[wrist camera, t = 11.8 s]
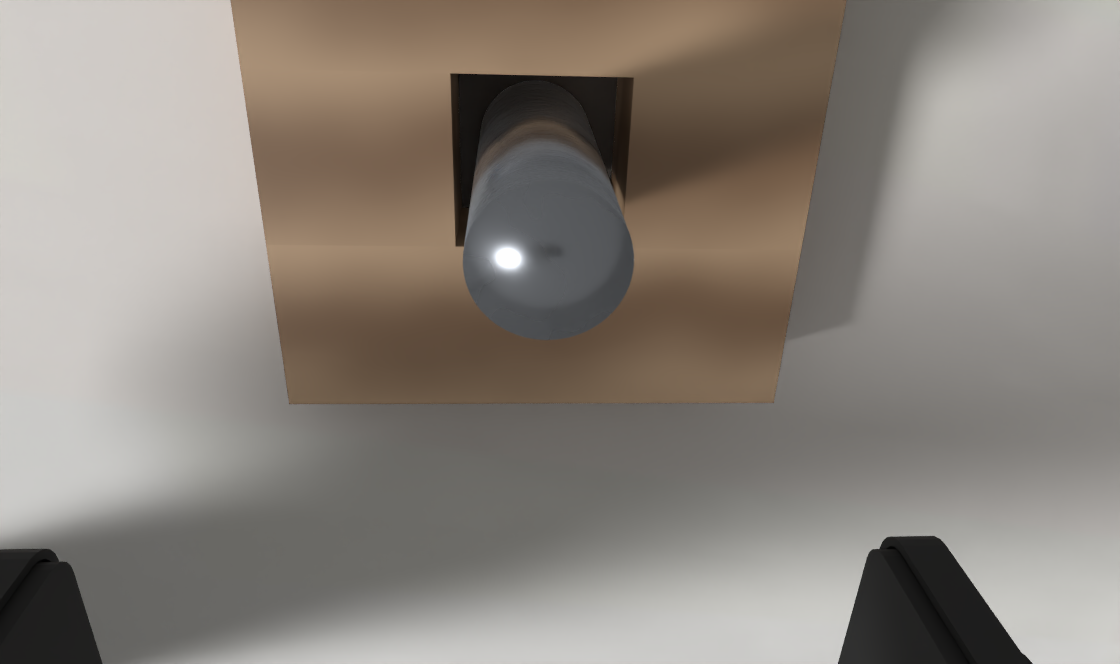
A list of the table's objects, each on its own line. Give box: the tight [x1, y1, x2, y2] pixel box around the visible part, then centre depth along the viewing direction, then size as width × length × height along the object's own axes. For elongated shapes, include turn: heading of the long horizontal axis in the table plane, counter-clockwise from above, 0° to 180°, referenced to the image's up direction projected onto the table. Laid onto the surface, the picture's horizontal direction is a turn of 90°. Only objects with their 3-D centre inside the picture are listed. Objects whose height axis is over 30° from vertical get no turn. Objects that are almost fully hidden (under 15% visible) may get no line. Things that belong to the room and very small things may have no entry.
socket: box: [231, 0, 846, 404], centre depth 28 cm, size 18×18×4 cm
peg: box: [463, 80, 634, 340], centre depth 24 cm, size 4×4×12 cm
